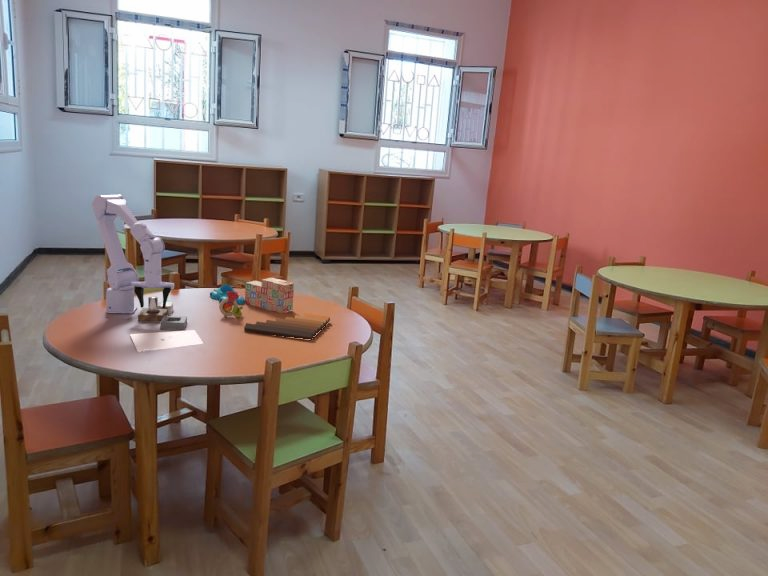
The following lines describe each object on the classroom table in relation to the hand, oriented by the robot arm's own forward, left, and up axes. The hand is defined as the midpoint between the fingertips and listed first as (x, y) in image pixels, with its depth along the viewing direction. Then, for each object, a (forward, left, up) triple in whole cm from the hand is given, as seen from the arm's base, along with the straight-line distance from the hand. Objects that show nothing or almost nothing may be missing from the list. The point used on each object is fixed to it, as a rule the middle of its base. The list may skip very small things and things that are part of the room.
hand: (153, 307), depth 212 cm
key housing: (+3, +8, -4) cm, 10 cm away
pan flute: (+49, -8, -5) cm, 50 cm away
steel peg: (0, 0, -4) cm, 4 cm away
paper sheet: (+10, -31, -5) cm, 33 cm away
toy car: (+25, +29, -5) cm, 39 cm away
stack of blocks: (+42, +19, -5) cm, 47 cm away
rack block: (+8, -9, -4) cm, 13 cm away
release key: (+3, +9, -4) cm, 10 cm away
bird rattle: (+28, +4, -5) cm, 29 cm away
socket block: (0, 0, -4) cm, 4 cm away
